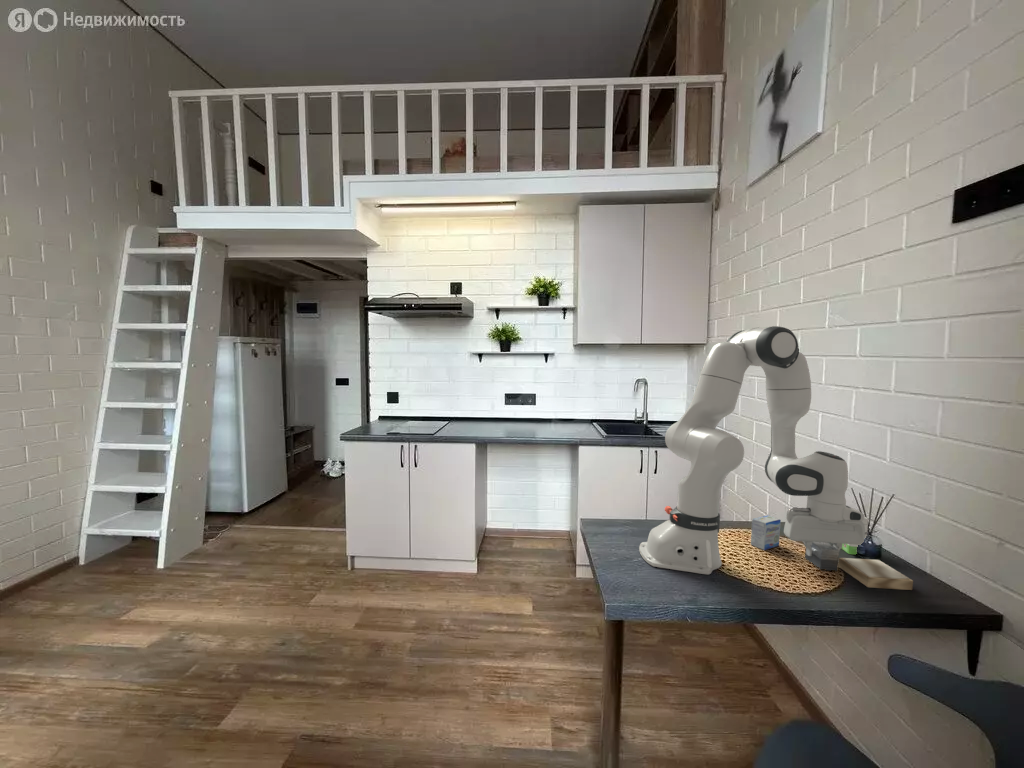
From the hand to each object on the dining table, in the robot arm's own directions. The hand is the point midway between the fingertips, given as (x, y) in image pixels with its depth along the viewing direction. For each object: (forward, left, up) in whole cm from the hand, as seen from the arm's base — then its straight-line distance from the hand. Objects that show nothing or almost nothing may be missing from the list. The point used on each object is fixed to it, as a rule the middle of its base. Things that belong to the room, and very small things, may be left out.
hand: (821, 556), depth 122 cm
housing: (0, 0, -2) cm, 2 cm away
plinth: (+10, -6, -3) cm, 12 cm away
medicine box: (-10, +11, -3) cm, 15 cm away
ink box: (+16, +12, -3) cm, 20 cm away
